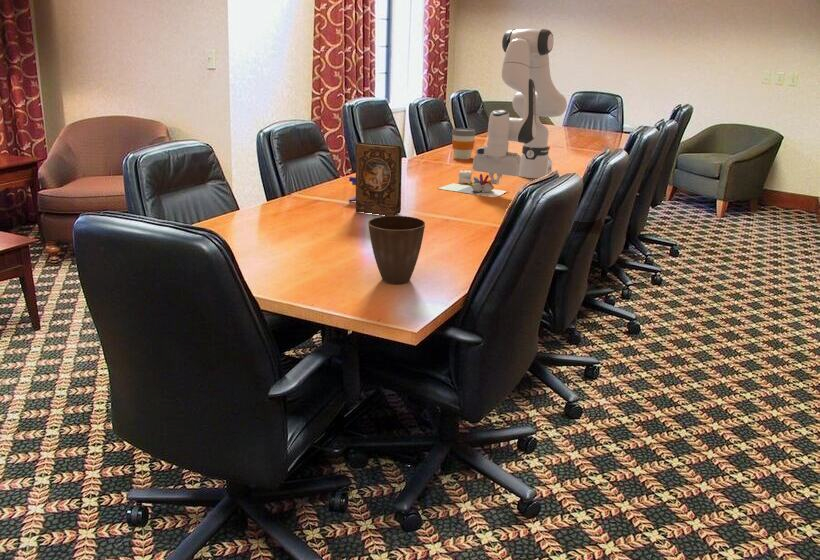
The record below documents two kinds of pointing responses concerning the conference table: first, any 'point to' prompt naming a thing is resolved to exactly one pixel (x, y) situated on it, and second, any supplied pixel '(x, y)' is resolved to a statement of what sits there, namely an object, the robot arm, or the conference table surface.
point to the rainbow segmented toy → (478, 184)
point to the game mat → (471, 190)
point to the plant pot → (396, 246)
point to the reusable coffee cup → (463, 142)
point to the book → (378, 178)
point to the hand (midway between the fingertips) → (494, 184)
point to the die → (465, 176)
